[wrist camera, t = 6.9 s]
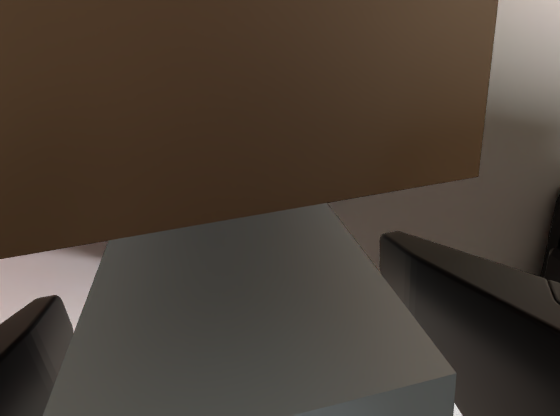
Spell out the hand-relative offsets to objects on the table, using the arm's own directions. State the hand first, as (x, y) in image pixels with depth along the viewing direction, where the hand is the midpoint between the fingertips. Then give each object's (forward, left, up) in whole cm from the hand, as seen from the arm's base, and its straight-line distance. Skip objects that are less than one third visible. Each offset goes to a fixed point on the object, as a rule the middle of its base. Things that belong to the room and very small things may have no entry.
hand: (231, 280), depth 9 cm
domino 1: (0, -5, -3) cm, 6 cm away
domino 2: (0, 0, -3) cm, 3 cm away
